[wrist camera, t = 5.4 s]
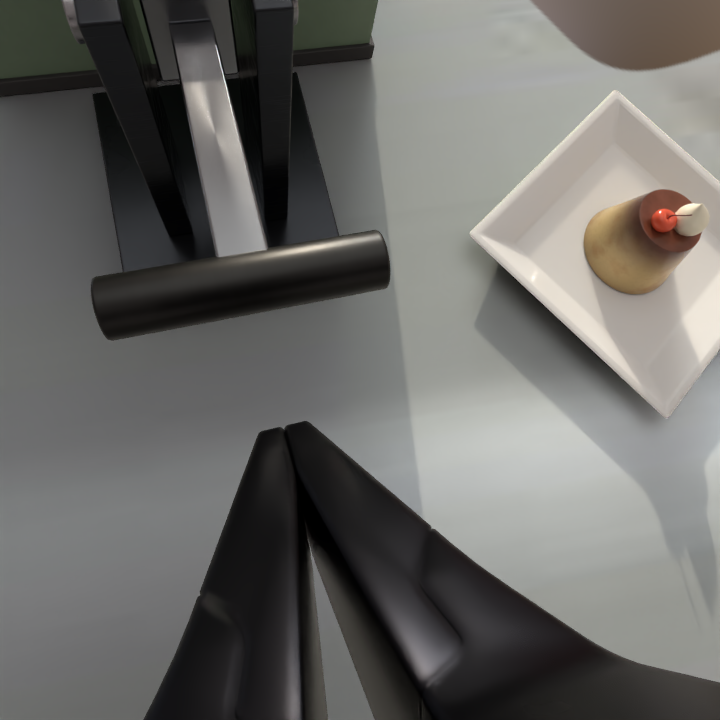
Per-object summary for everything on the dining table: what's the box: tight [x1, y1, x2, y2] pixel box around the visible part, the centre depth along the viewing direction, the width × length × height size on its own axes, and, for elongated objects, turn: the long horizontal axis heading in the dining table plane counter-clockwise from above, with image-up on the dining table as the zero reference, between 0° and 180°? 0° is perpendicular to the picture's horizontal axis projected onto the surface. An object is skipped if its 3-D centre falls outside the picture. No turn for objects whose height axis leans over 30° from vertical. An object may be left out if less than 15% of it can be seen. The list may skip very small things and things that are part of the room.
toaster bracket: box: [61, 0, 339, 272], centre depth 19 cm, size 10×9×12 cm
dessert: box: [470, 90, 720, 418], centre depth 25 cm, size 12×12×5 cm
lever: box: [91, 0, 390, 341], centre depth 13 cm, size 11×6×2 cm, turn 14°
